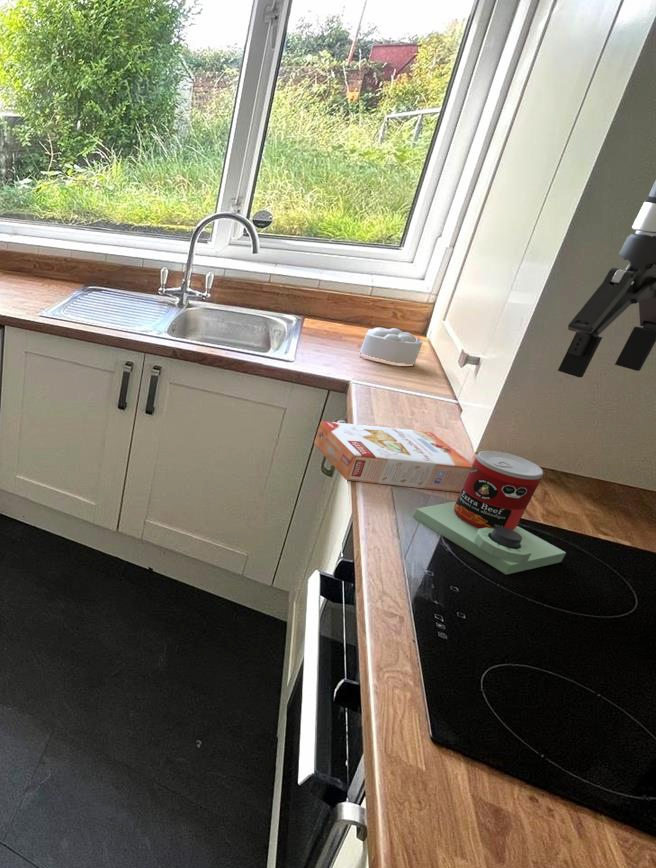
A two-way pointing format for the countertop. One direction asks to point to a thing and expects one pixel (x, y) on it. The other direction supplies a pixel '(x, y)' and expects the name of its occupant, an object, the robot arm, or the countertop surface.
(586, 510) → the countertop surface
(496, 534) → the button
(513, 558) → the scale
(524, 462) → the canned food
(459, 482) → the cracker box
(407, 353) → the lumpy-topped squat cylinder
